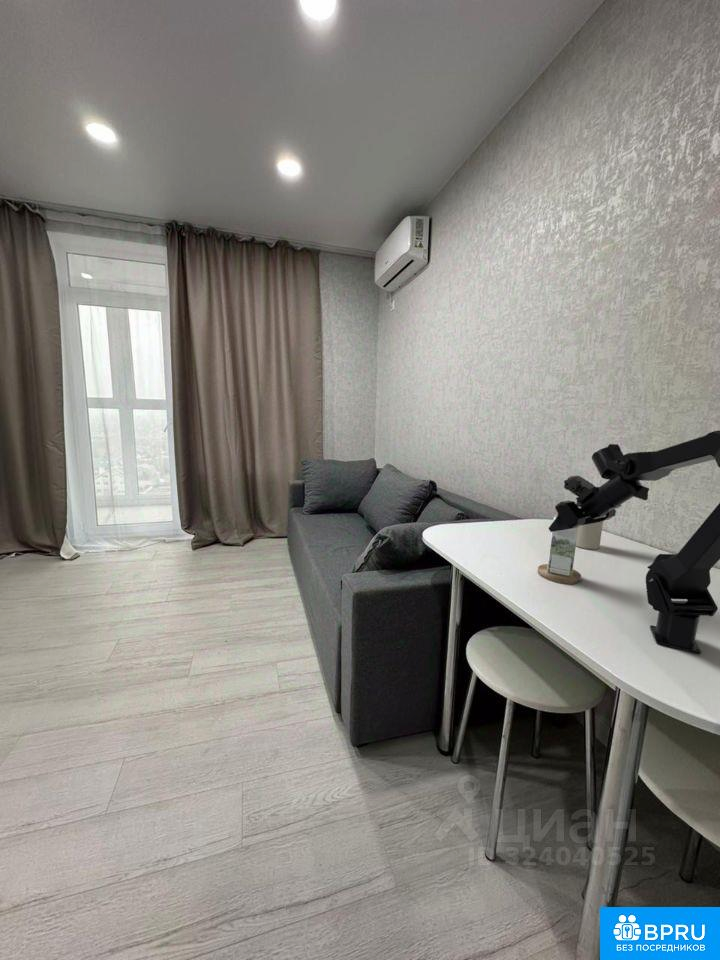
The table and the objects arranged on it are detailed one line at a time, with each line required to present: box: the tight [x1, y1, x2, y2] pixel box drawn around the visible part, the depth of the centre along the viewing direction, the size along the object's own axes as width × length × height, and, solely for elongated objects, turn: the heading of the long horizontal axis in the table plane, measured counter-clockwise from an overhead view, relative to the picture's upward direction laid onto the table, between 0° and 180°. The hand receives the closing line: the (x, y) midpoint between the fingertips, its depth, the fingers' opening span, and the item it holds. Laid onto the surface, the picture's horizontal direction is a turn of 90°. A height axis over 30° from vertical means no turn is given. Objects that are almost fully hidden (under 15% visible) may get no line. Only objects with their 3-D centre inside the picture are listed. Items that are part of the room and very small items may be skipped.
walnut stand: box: [537, 563, 582, 585], centre depth 100 cm, size 10×10×1 cm
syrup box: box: [547, 514, 579, 577], centre depth 98 cm, size 6×6×14 cm
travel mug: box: [575, 500, 604, 550], centre depth 124 cm, size 8×8×18 cm
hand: (560, 527), depth 99 cm, fingers open, 9 cm apart
